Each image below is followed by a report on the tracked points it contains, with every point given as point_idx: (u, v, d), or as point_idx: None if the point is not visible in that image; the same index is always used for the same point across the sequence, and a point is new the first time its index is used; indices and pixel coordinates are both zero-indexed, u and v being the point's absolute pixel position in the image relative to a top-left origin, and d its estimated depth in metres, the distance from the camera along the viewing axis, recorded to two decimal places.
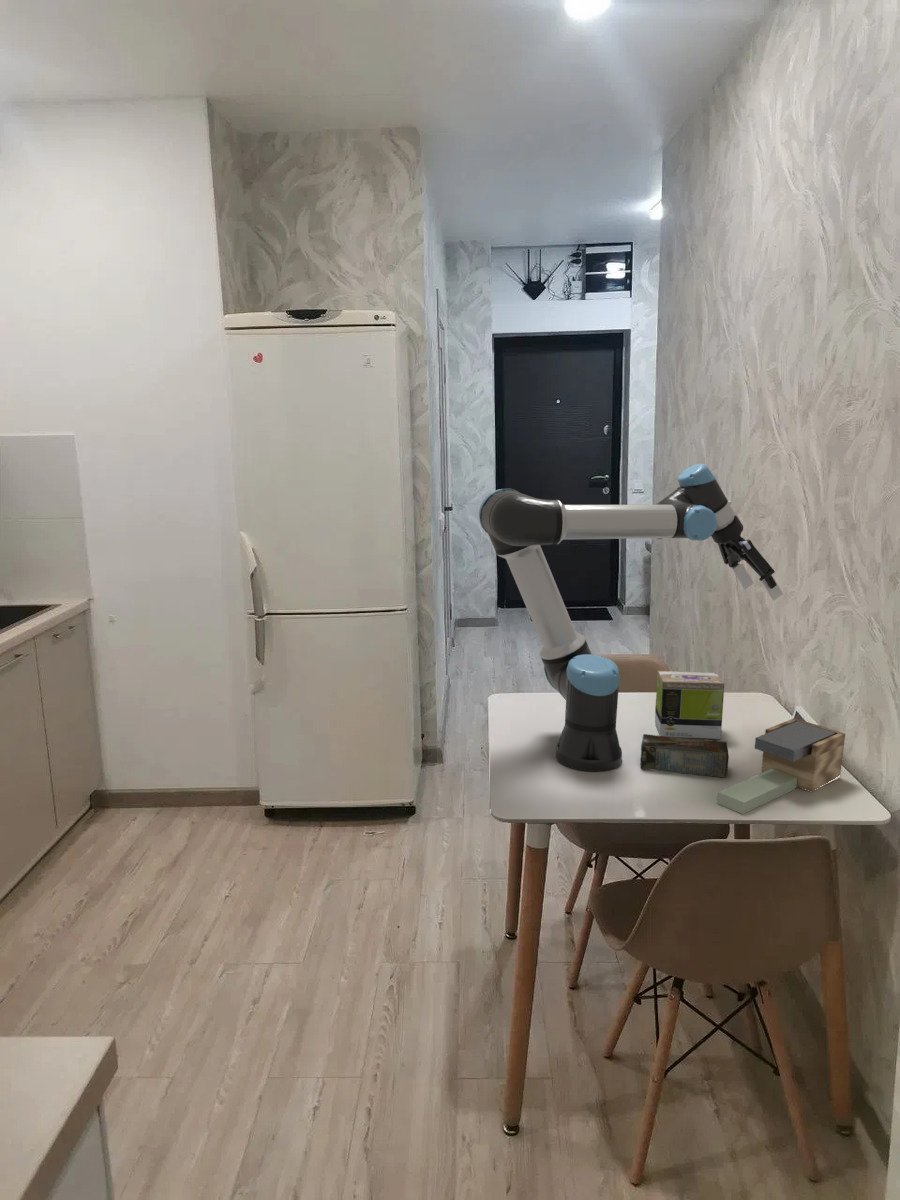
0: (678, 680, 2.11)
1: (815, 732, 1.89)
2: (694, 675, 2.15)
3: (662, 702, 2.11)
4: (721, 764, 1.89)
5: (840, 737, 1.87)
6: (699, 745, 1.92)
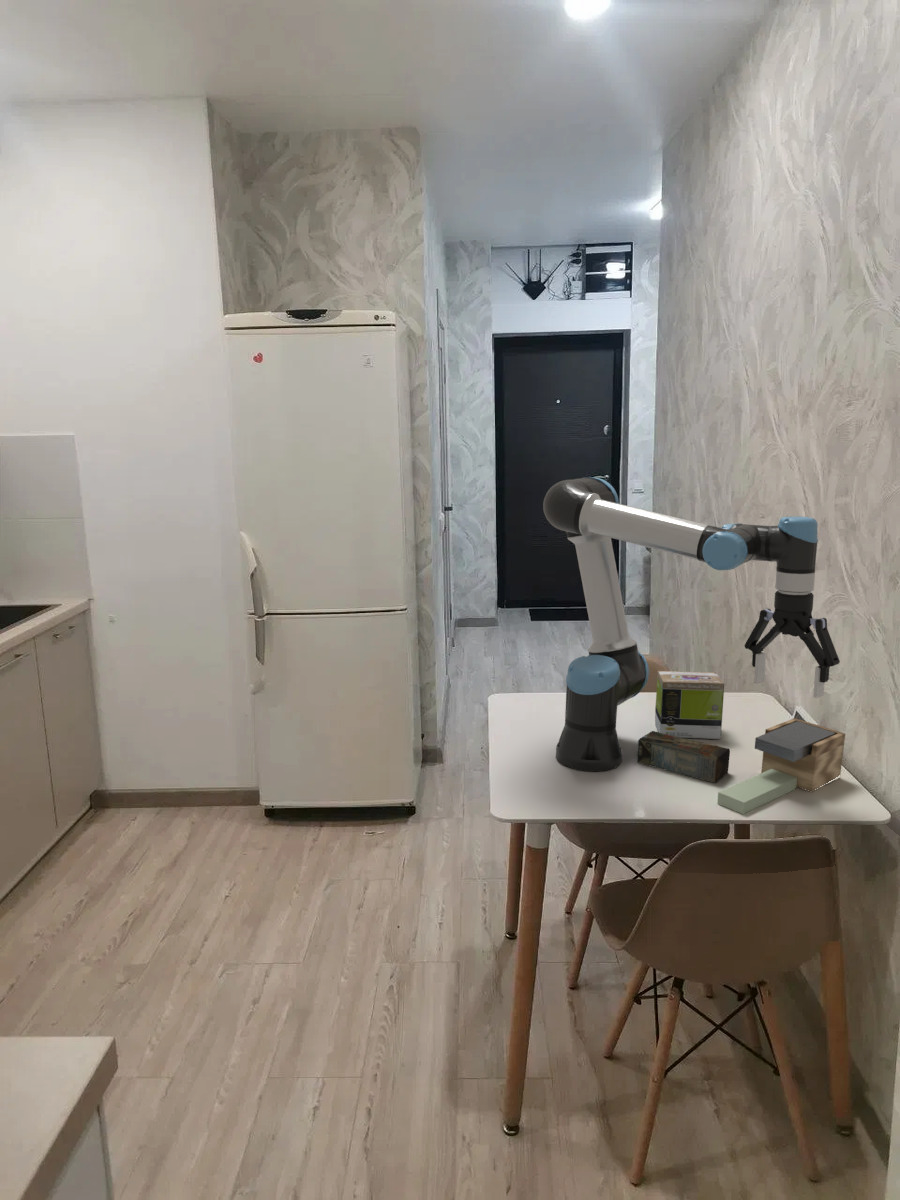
0: (677, 680, 2.11)
1: (815, 732, 1.89)
2: (694, 675, 2.15)
3: (662, 702, 2.11)
4: (711, 769, 1.87)
5: (840, 737, 1.87)
6: (695, 747, 1.91)
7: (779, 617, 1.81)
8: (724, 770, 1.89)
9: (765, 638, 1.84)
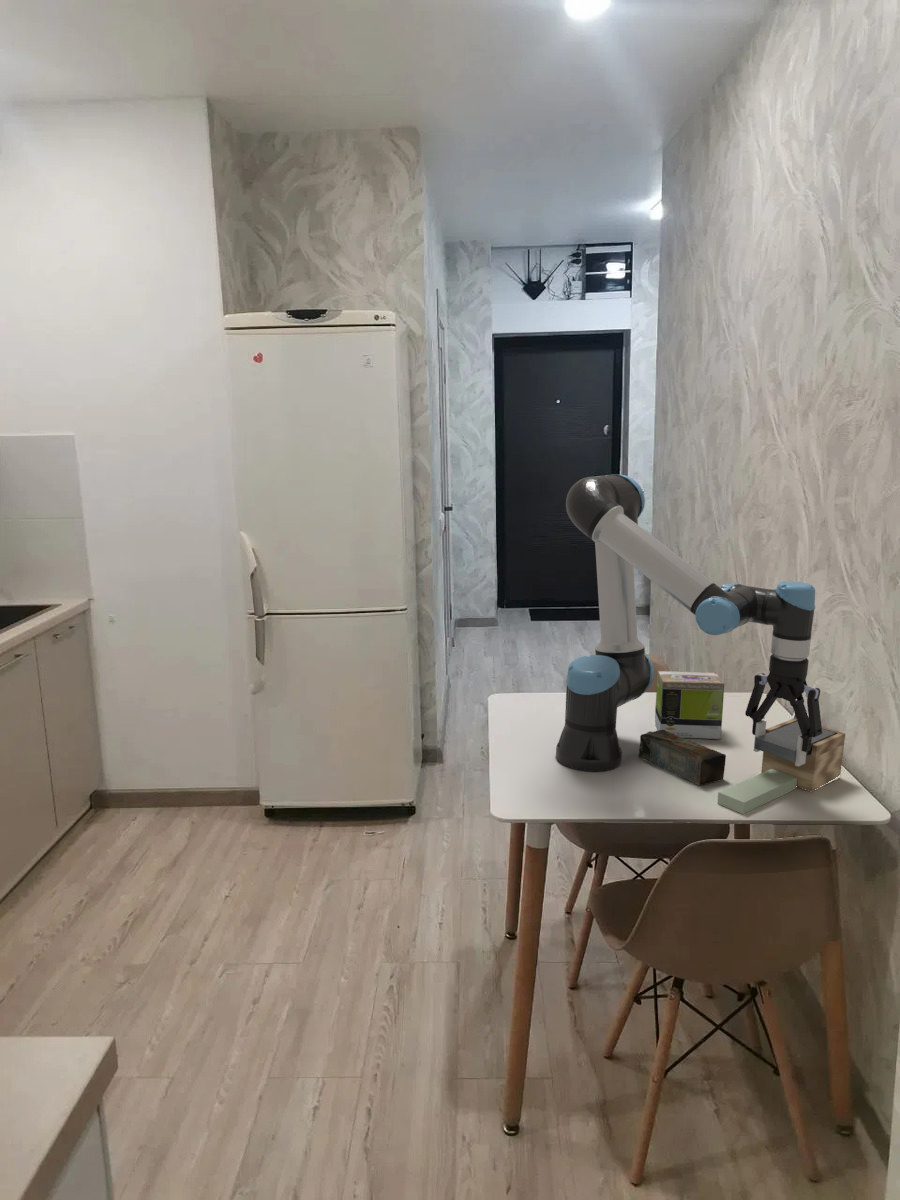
0: (677, 680, 2.11)
1: None
2: (694, 675, 2.15)
3: (662, 702, 2.11)
4: (696, 771, 1.86)
5: (840, 737, 1.87)
6: (689, 748, 1.90)
7: (773, 680, 1.82)
8: (714, 775, 1.87)
9: (763, 705, 1.84)
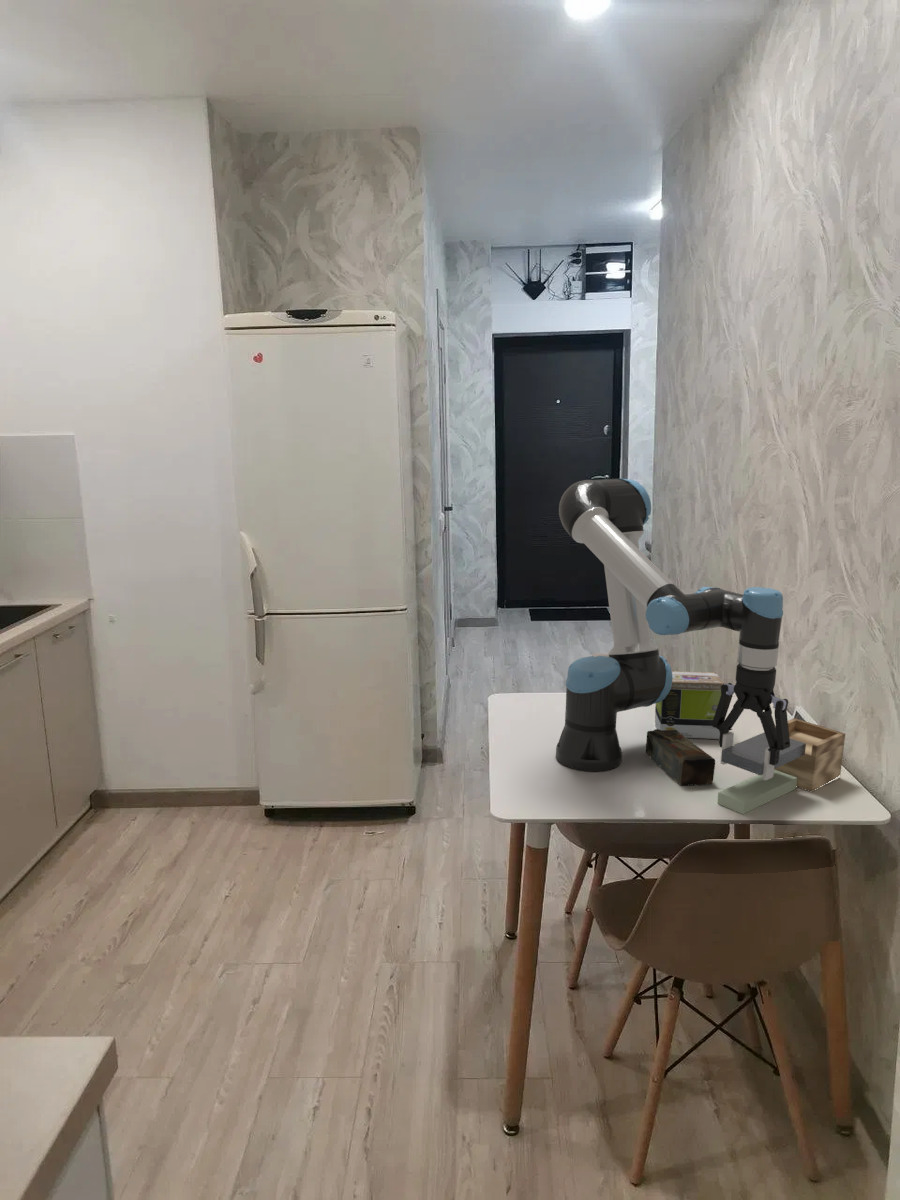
0: (677, 680, 2.11)
1: None
2: (694, 675, 2.15)
3: (662, 702, 2.11)
4: (679, 770, 1.86)
5: (840, 737, 1.87)
6: (681, 748, 1.90)
7: (740, 690, 1.74)
8: (699, 777, 1.85)
9: (730, 716, 1.77)
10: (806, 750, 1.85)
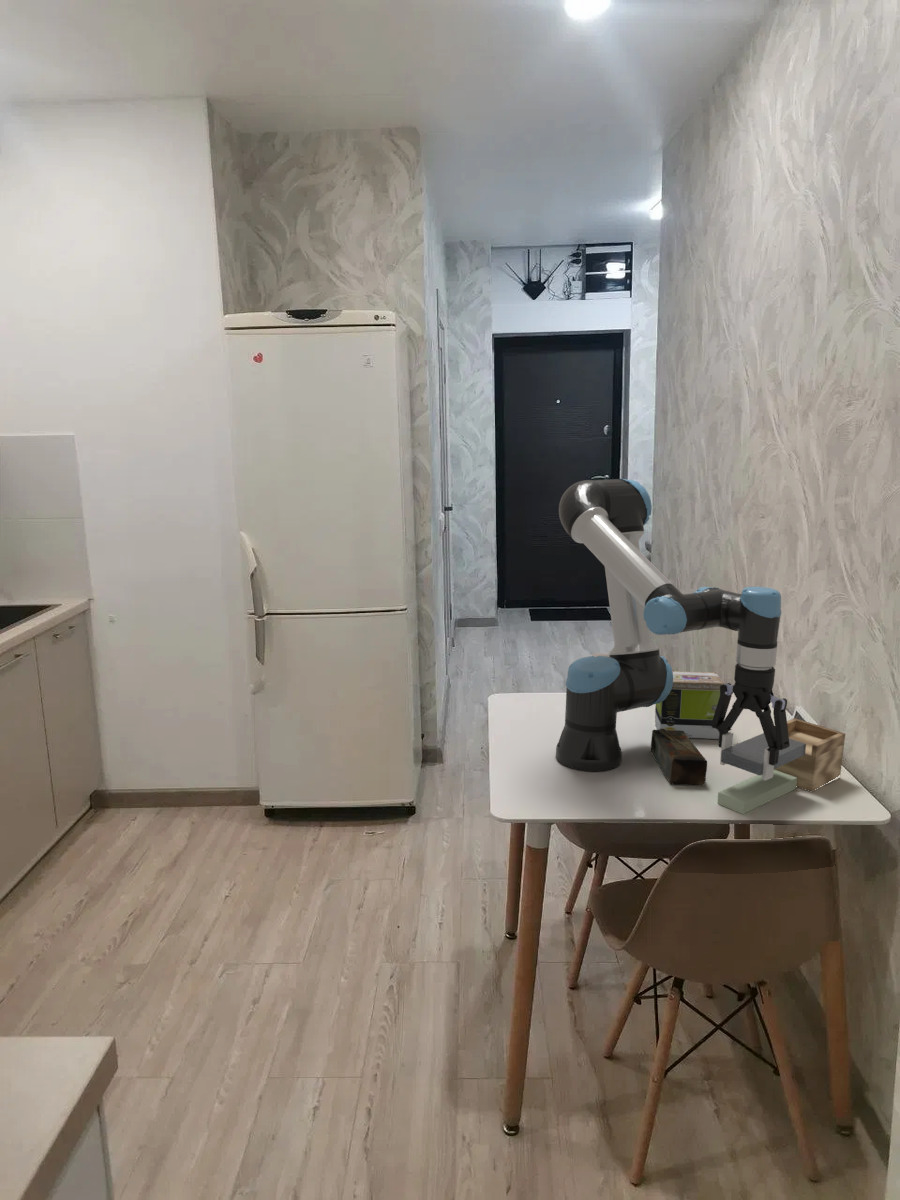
0: (678, 680, 2.11)
1: None
2: (694, 675, 2.15)
3: (662, 702, 2.11)
4: (669, 769, 1.86)
5: (840, 737, 1.87)
6: (677, 748, 1.90)
7: (739, 690, 1.74)
8: (689, 778, 1.85)
9: (729, 716, 1.76)
10: (806, 750, 1.85)
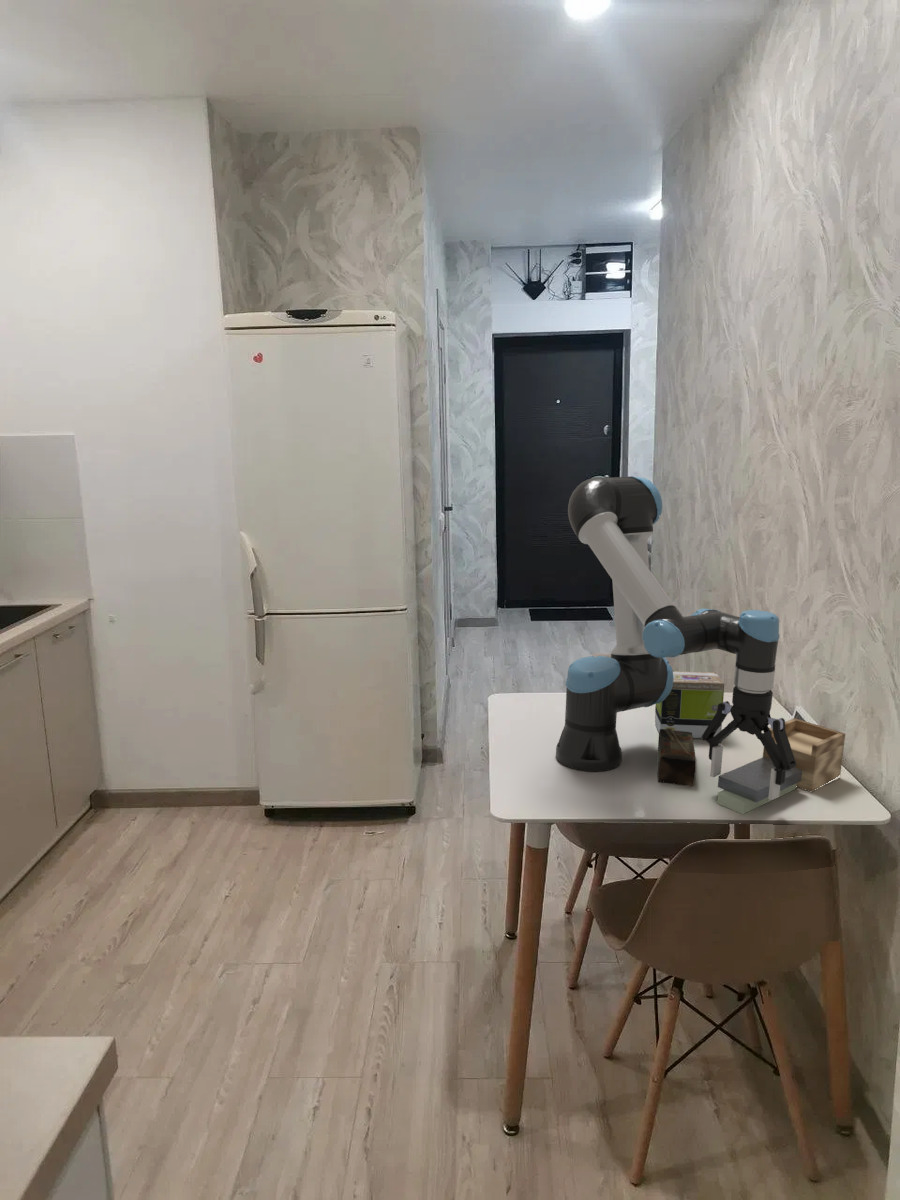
0: (677, 680, 2.11)
1: None
2: (694, 675, 2.15)
3: (662, 702, 2.11)
4: (658, 766, 1.87)
5: (840, 737, 1.87)
6: (671, 747, 1.91)
7: (737, 713, 1.75)
8: (676, 777, 1.85)
9: (722, 732, 1.78)
10: (806, 750, 1.85)
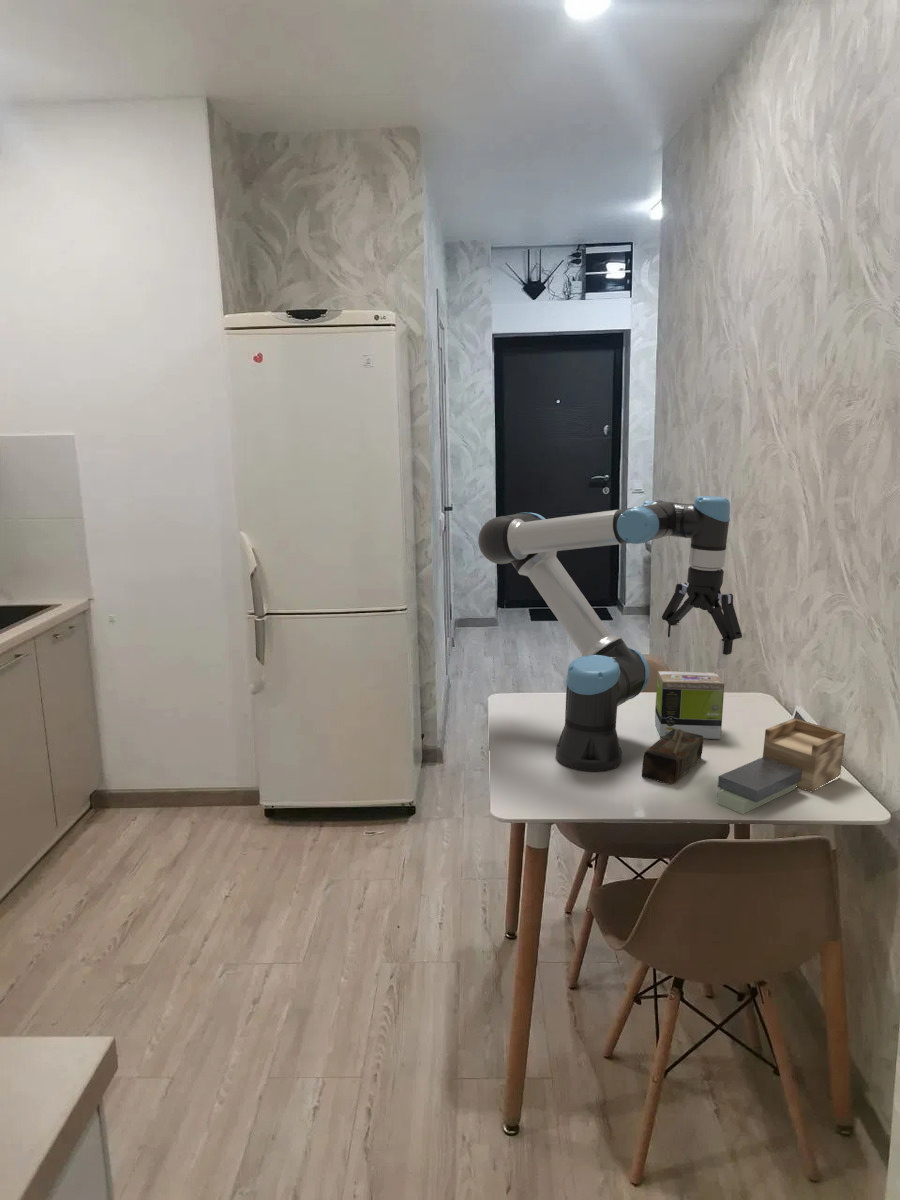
0: (677, 680, 2.11)
1: (780, 769, 1.82)
2: (694, 675, 2.15)
3: (662, 702, 2.11)
4: None
5: (840, 737, 1.87)
6: (664, 745, 1.92)
7: (692, 591, 1.91)
8: (657, 773, 1.87)
9: (679, 610, 1.95)
10: (806, 750, 1.85)
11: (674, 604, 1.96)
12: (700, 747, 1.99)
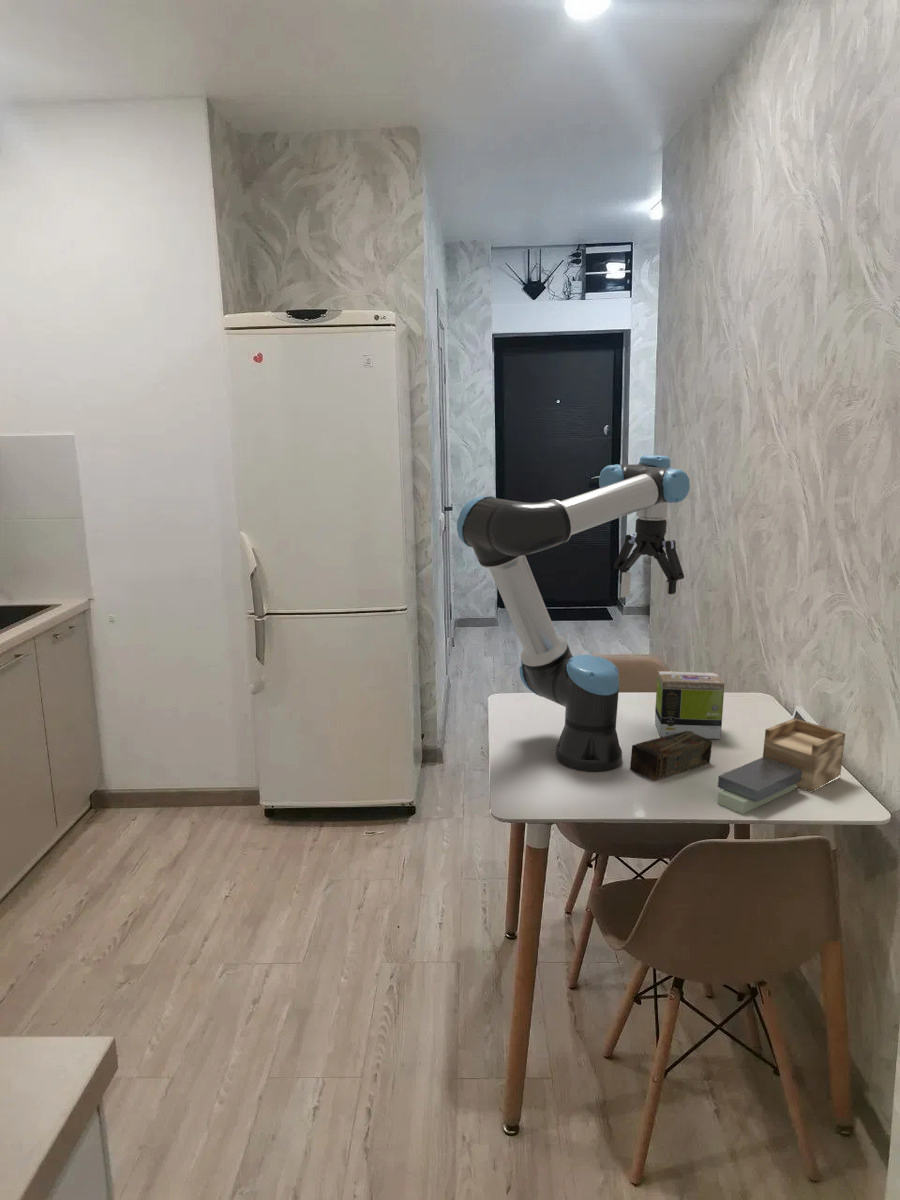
0: (677, 680, 2.11)
1: (780, 769, 1.82)
2: (694, 675, 2.15)
3: (662, 702, 2.11)
4: None
5: (840, 737, 1.87)
6: (658, 742, 1.94)
7: (639, 540, 2.16)
8: (641, 767, 1.90)
9: (629, 558, 2.19)
10: (806, 750, 1.85)
11: (624, 553, 2.21)
12: (706, 751, 1.96)
